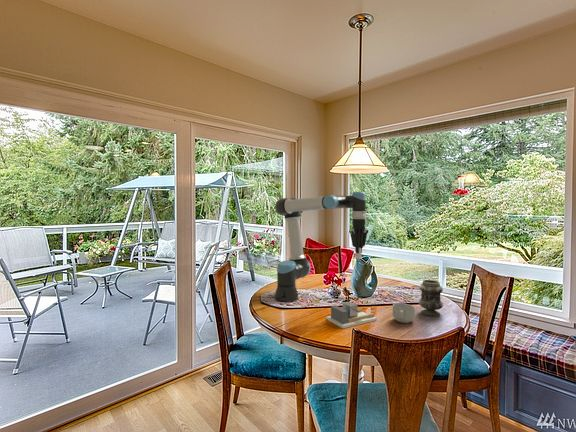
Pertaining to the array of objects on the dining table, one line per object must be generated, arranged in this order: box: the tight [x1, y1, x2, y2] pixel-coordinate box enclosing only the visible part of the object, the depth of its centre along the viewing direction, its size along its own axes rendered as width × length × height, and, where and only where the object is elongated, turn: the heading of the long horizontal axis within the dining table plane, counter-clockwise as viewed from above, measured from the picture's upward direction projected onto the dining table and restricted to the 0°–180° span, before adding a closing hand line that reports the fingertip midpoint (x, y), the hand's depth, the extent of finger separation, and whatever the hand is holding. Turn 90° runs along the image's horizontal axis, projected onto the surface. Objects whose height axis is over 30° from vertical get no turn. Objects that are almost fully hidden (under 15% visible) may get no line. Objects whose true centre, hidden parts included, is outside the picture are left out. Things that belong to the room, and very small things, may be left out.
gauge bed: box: [325, 304, 377, 329], centre depth 161 cm, size 14×22×7 cm, turn 118°
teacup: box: [392, 302, 416, 324], centre depth 157 cm, size 14×11×8 cm
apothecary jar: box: [418, 279, 444, 318], centre depth 169 cm, size 12×12×18 cm
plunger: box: [342, 301, 360, 319], centre depth 158 cm, size 10×5×7 cm, turn 28°
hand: (358, 258), depth 180 cm, fingers closed
